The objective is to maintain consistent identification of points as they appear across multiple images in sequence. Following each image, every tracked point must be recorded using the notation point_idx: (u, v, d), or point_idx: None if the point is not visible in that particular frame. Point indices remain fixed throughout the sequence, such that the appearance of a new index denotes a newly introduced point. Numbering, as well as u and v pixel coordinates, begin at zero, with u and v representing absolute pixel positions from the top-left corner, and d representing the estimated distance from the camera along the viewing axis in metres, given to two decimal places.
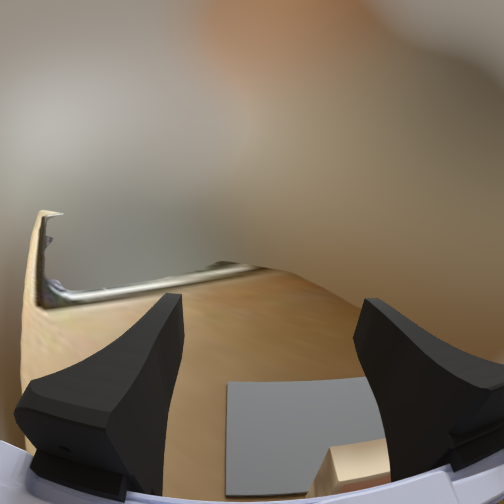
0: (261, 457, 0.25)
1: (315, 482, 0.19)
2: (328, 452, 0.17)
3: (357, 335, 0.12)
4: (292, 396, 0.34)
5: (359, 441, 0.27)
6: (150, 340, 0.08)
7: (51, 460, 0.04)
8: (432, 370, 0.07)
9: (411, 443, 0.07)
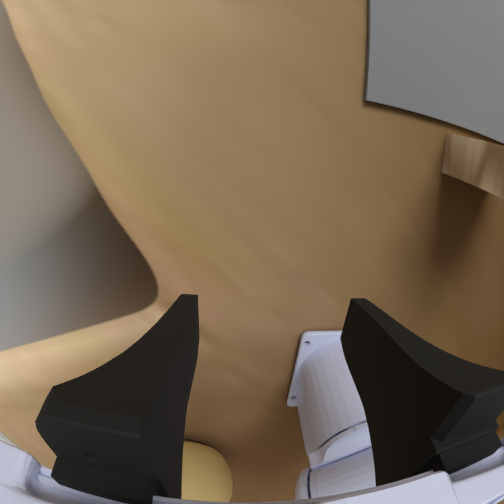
0: (415, 50, 0.15)
1: (491, 149, 0.13)
2: None
3: (344, 336, 0.12)
4: None
5: None
6: (172, 342, 0.08)
7: (73, 467, 0.04)
8: (415, 373, 0.07)
9: (394, 447, 0.07)
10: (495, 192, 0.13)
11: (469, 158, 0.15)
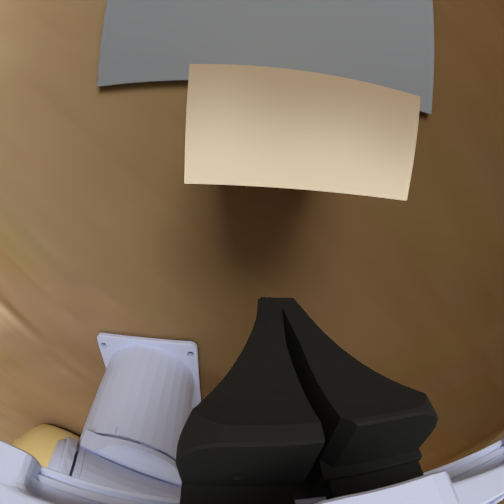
0: (159, 10, 0.12)
1: None
2: None
3: None
4: None
5: (349, 10, 0.13)
6: (281, 346, 0.08)
7: (208, 491, 0.05)
8: (312, 384, 0.07)
9: None
10: None
11: None
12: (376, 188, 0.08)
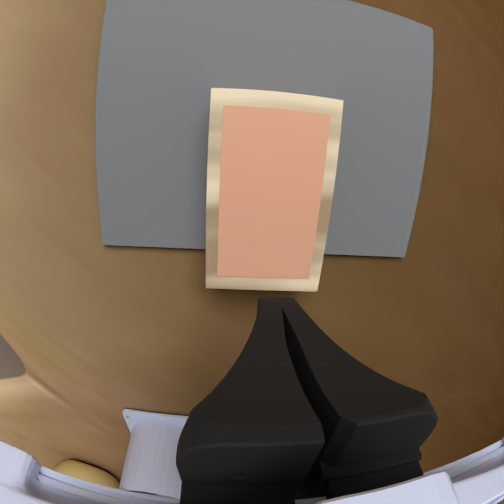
0: (150, 174, 0.17)
1: None
2: None
3: None
4: (234, 24, 0.13)
5: (337, 167, 0.17)
6: (282, 346, 0.08)
7: (208, 491, 0.05)
8: (312, 384, 0.07)
9: None
10: (207, 172, 0.14)
11: None
12: (320, 97, 0.13)
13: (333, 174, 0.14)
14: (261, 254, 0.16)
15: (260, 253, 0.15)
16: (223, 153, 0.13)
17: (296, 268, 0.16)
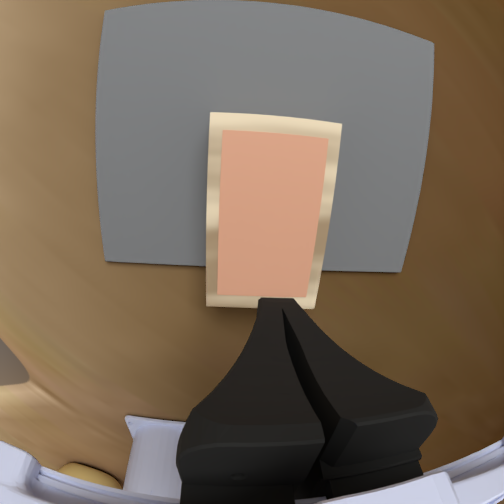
0: (150, 193, 0.17)
1: None
2: None
3: None
4: (233, 41, 0.14)
5: (335, 186, 0.17)
6: (282, 346, 0.08)
7: (208, 491, 0.05)
8: (312, 384, 0.07)
9: None
10: (207, 196, 0.14)
11: None
12: None
13: (331, 197, 0.14)
14: (260, 275, 0.16)
15: (259, 273, 0.16)
16: (223, 178, 0.14)
17: (294, 287, 0.16)
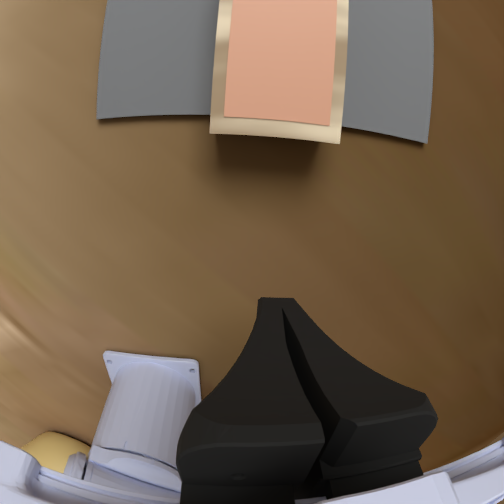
0: (156, 40, 0.13)
1: None
2: None
3: None
4: None
5: (348, 38, 0.14)
6: (282, 346, 0.08)
7: (208, 491, 0.05)
8: (311, 384, 0.07)
9: None
10: (219, 12, 0.11)
11: None
12: None
13: (346, 20, 0.11)
14: (275, 92, 0.12)
15: (273, 90, 0.12)
16: None
17: (314, 111, 0.13)
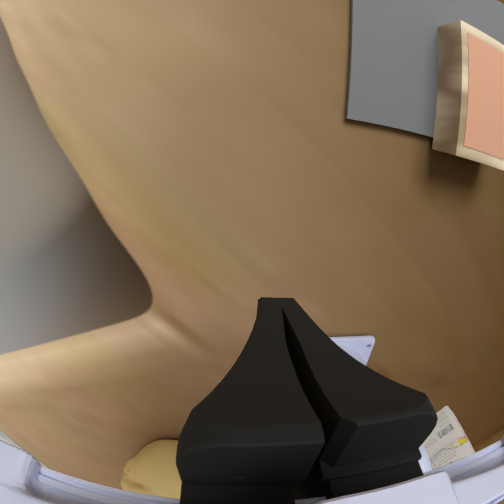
0: (397, 66, 0.16)
1: (440, 84, 0.16)
2: (439, 31, 0.15)
3: None
4: None
5: None
6: (281, 346, 0.08)
7: (207, 491, 0.05)
8: (312, 384, 0.07)
9: None
10: (461, 69, 0.14)
11: (446, 110, 0.16)
12: None
13: None
14: (486, 135, 0.15)
15: (486, 133, 0.15)
16: (469, 60, 0.13)
17: (500, 150, 0.16)
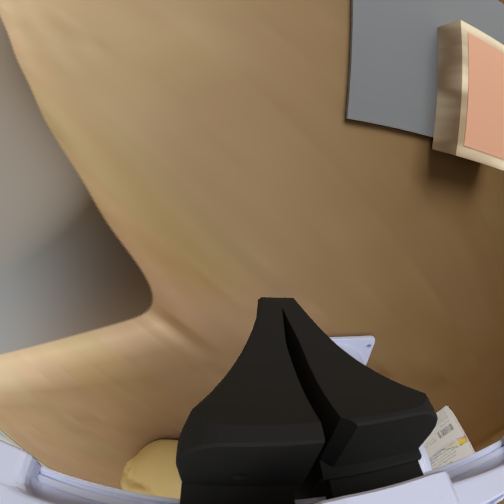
0: (397, 66, 0.16)
1: (440, 84, 0.16)
2: (439, 31, 0.15)
3: None
4: None
5: None
6: (282, 346, 0.08)
7: (208, 491, 0.05)
8: (312, 384, 0.07)
9: None
10: (461, 69, 0.14)
11: (446, 110, 0.16)
12: None
13: None
14: (486, 135, 0.15)
15: (486, 134, 0.15)
16: (469, 60, 0.13)
17: (500, 150, 0.16)
